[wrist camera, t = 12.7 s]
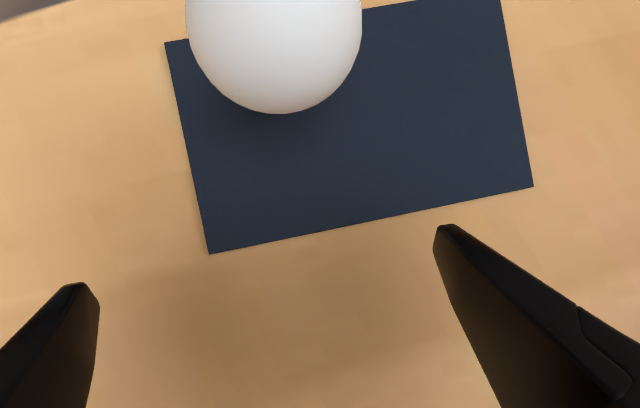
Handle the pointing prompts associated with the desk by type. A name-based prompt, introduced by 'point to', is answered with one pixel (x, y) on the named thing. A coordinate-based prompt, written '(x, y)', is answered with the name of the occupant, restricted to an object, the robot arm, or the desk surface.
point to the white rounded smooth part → (275, 49)
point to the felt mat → (362, 130)
